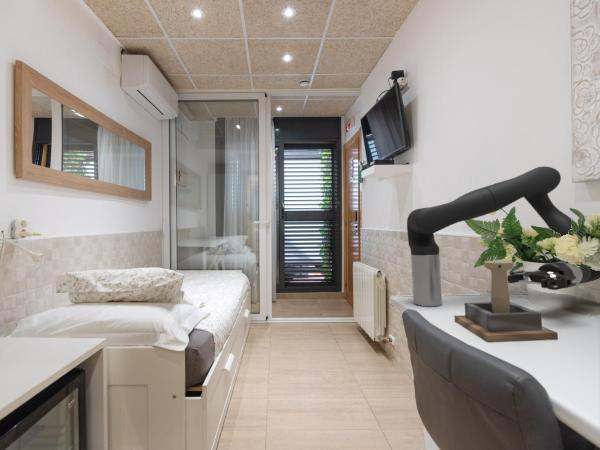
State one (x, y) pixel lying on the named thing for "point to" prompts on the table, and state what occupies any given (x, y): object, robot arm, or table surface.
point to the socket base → (504, 323)
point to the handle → (499, 285)
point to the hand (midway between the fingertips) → (525, 281)
